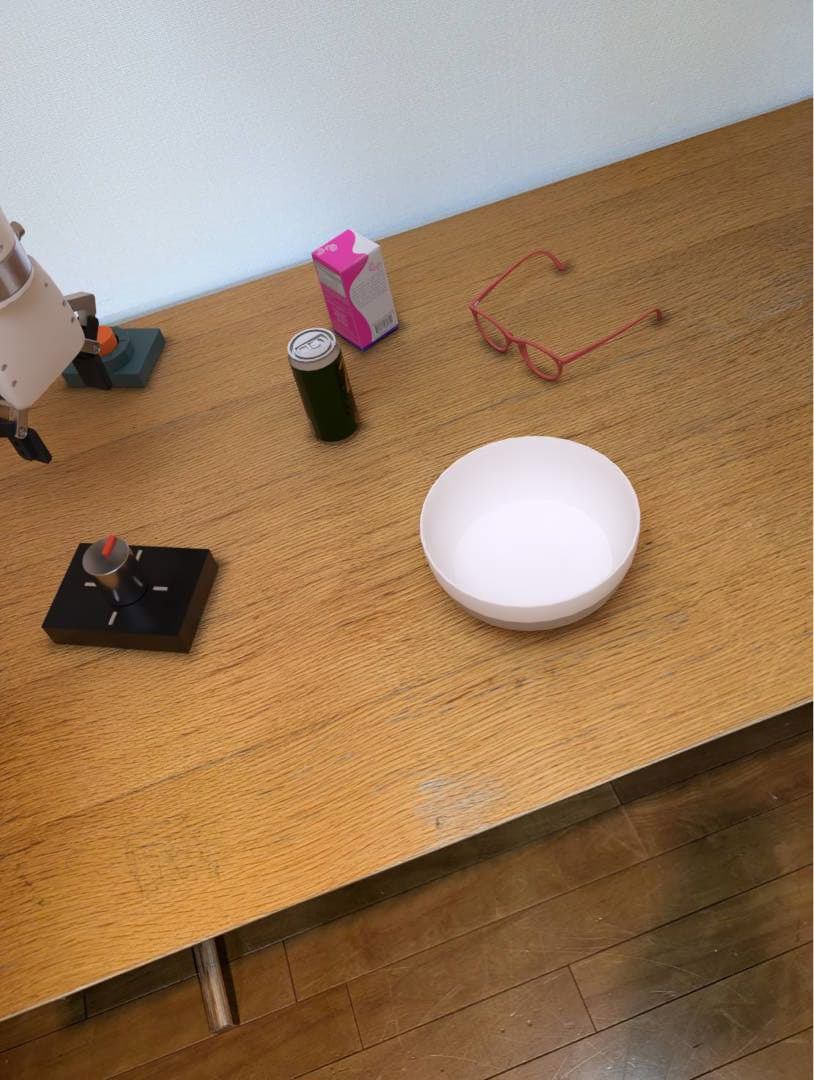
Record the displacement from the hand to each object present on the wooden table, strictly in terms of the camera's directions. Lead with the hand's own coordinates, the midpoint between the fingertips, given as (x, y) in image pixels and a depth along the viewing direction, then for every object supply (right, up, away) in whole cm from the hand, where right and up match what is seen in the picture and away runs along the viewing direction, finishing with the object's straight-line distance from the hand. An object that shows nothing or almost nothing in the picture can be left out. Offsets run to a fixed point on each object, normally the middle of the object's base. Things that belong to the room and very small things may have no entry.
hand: (70, 421), depth 92 cm
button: (-4, +12, +24) cm, 27 cm away
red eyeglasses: (+49, +13, +19) cm, 54 cm away
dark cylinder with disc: (+5, -16, +2) cm, 16 cm away
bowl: (+43, -14, -1) cm, 46 cm away
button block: (-4, +10, +27) cm, 29 cm away
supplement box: (+27, +14, +24) cm, 39 cm away
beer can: (+24, +1, +15) cm, 28 cm away
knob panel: (+5, -17, +4) cm, 19 cm away
